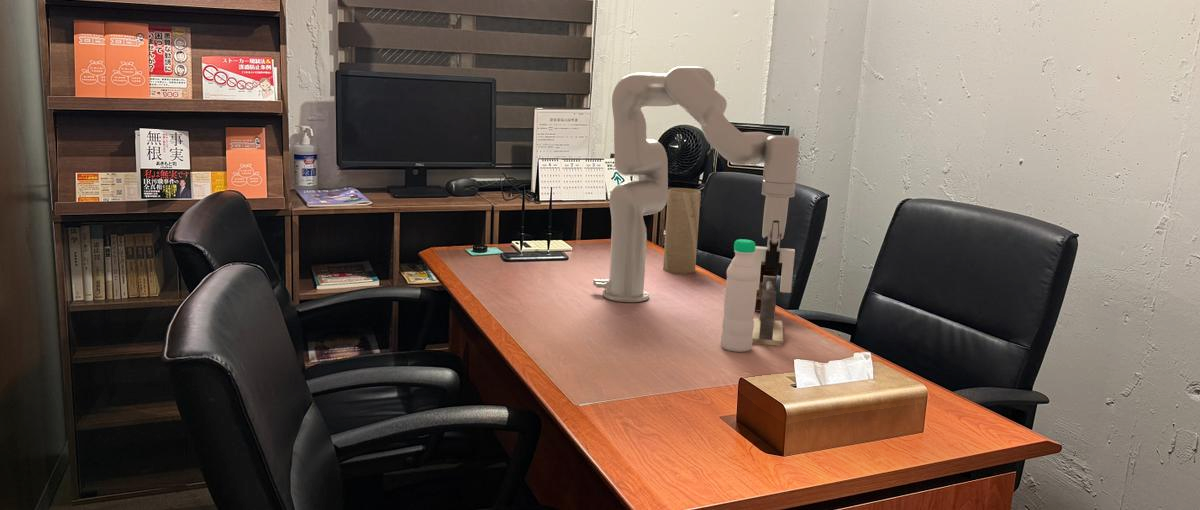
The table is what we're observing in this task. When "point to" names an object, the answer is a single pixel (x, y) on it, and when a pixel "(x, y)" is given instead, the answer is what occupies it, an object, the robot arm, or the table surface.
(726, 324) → the water bottle
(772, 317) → the hook stand
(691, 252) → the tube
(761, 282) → the coffee cup
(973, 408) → the table surface
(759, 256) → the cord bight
